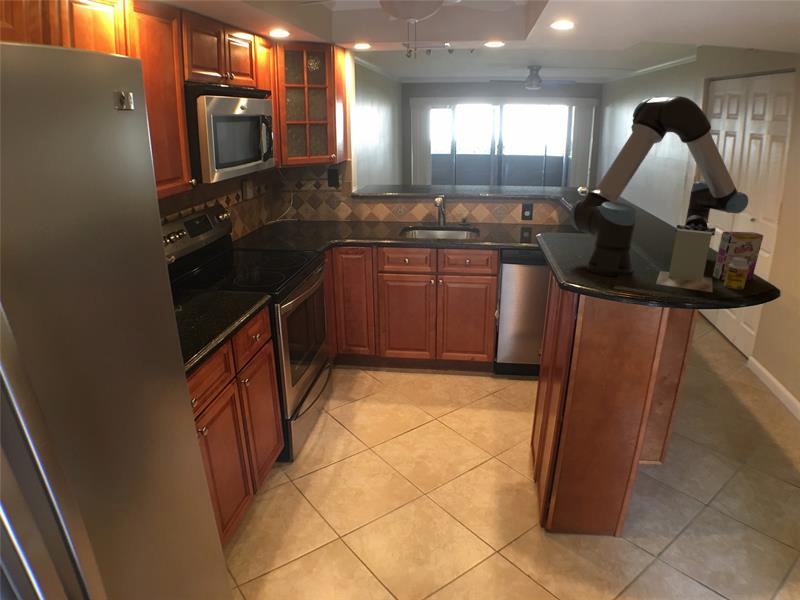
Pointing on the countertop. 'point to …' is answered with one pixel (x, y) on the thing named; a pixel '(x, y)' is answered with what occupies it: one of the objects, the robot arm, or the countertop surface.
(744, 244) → the candy bar box
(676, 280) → the board
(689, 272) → the pale green rectangular block
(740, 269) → the supplement bottle
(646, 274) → the countertop surface
